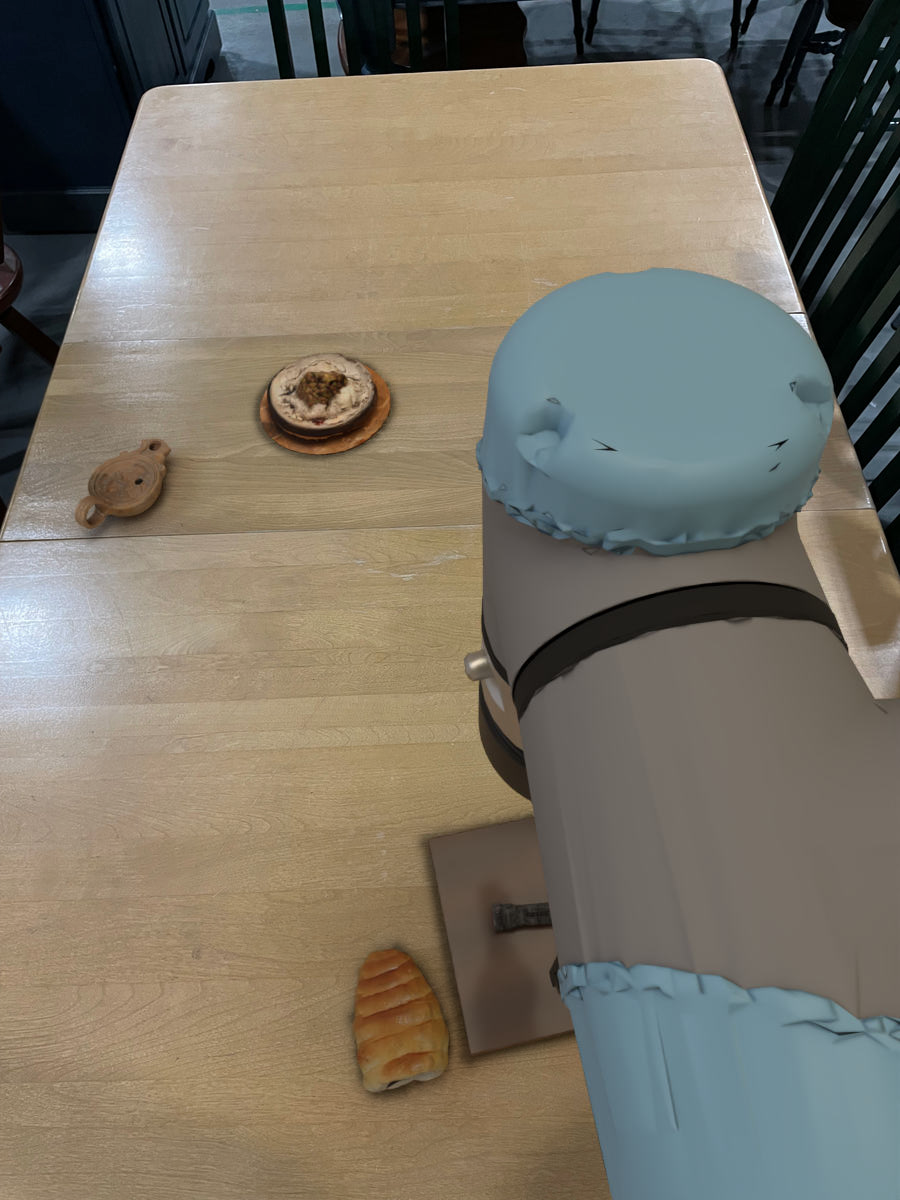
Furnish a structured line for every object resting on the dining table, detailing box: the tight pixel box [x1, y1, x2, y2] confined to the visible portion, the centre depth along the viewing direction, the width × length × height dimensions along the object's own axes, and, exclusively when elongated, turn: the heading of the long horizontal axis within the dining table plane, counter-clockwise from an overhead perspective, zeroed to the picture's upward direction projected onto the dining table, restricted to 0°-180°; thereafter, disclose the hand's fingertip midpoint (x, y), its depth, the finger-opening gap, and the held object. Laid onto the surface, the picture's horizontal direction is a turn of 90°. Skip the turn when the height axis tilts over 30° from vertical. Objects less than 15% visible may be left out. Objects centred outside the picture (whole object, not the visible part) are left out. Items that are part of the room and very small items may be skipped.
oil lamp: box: [74, 438, 172, 530], centre depth 89 cm, size 13×8×5 cm, turn 150°
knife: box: [492, 902, 552, 932], centre depth 65 cm, size 19×2×5 cm
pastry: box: [351, 948, 450, 1094], centre depth 62 cm, size 9×7×4 cm
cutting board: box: [427, 816, 575, 1057], centre depth 67 cm, size 16×24×1 cm, turn 102°
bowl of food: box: [259, 352, 391, 456], centre depth 96 cm, size 15×15×4 cm
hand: (541, 848), depth 49 cm, fingers open, 13 cm apart
